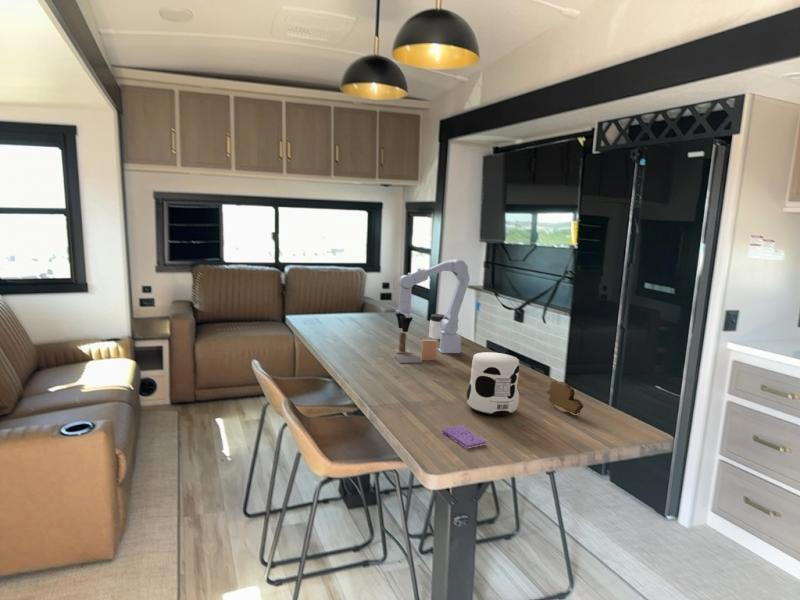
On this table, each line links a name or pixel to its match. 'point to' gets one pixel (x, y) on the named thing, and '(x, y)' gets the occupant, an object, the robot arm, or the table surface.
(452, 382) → the table surface
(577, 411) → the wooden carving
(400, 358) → the mat
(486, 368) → the milk container
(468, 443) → the sponges
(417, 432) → the table surface
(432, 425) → the table surface
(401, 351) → the turner
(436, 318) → the jar
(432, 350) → the tile
